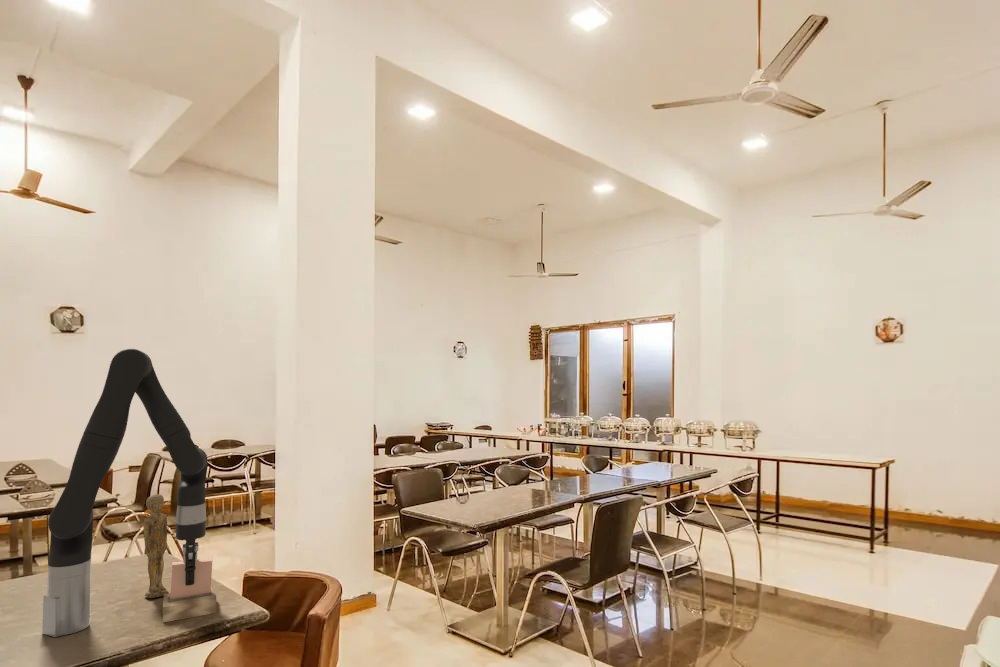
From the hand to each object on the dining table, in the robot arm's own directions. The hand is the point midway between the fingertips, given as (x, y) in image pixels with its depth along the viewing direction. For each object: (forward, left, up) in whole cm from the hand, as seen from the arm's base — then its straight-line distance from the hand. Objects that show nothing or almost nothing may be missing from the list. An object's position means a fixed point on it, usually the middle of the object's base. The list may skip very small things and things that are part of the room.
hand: (189, 582), depth 170 cm
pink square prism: (0, 0, -4) cm, 4 cm away
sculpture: (+3, +20, -8) cm, 22 cm away
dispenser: (0, 0, -8) cm, 8 cm away
